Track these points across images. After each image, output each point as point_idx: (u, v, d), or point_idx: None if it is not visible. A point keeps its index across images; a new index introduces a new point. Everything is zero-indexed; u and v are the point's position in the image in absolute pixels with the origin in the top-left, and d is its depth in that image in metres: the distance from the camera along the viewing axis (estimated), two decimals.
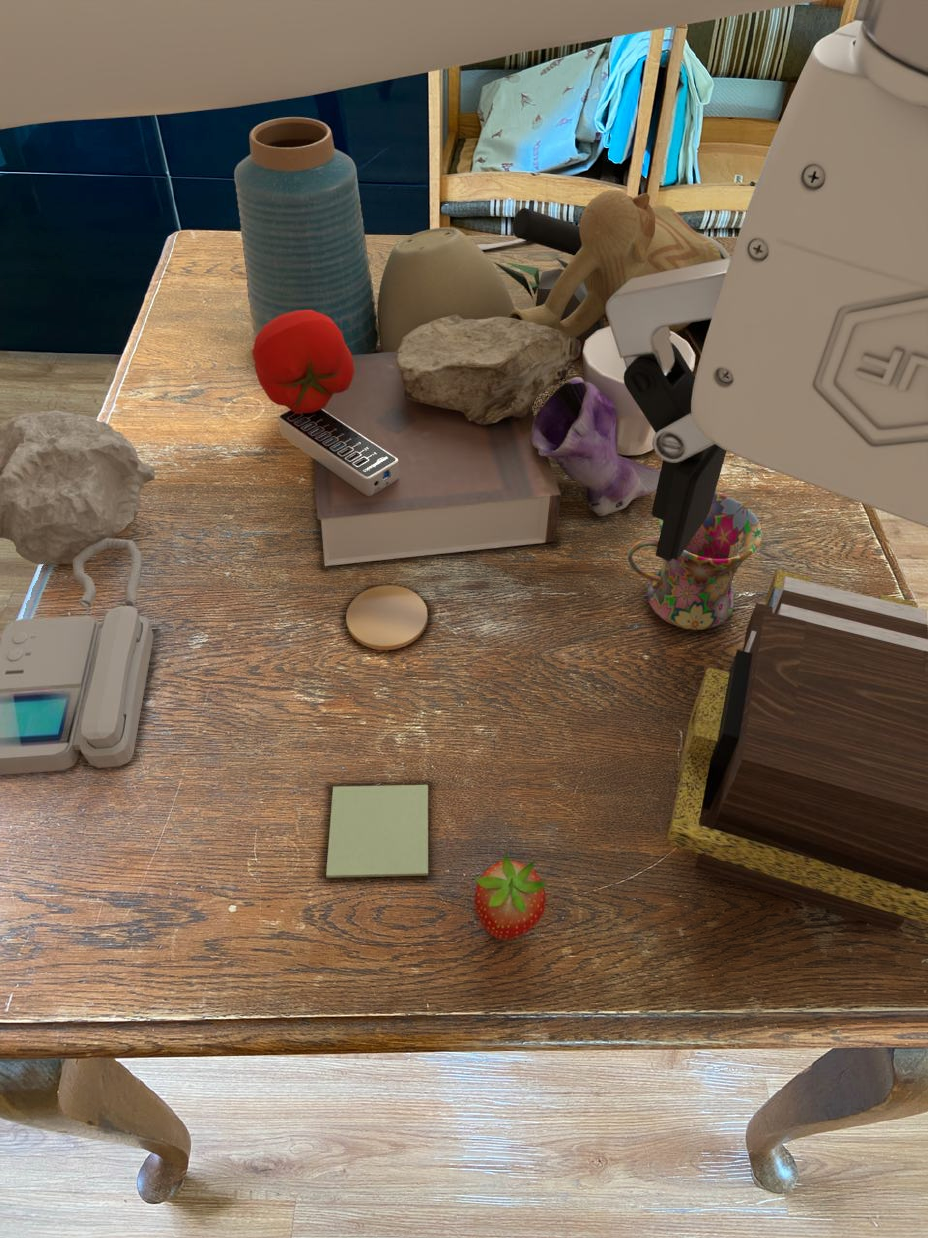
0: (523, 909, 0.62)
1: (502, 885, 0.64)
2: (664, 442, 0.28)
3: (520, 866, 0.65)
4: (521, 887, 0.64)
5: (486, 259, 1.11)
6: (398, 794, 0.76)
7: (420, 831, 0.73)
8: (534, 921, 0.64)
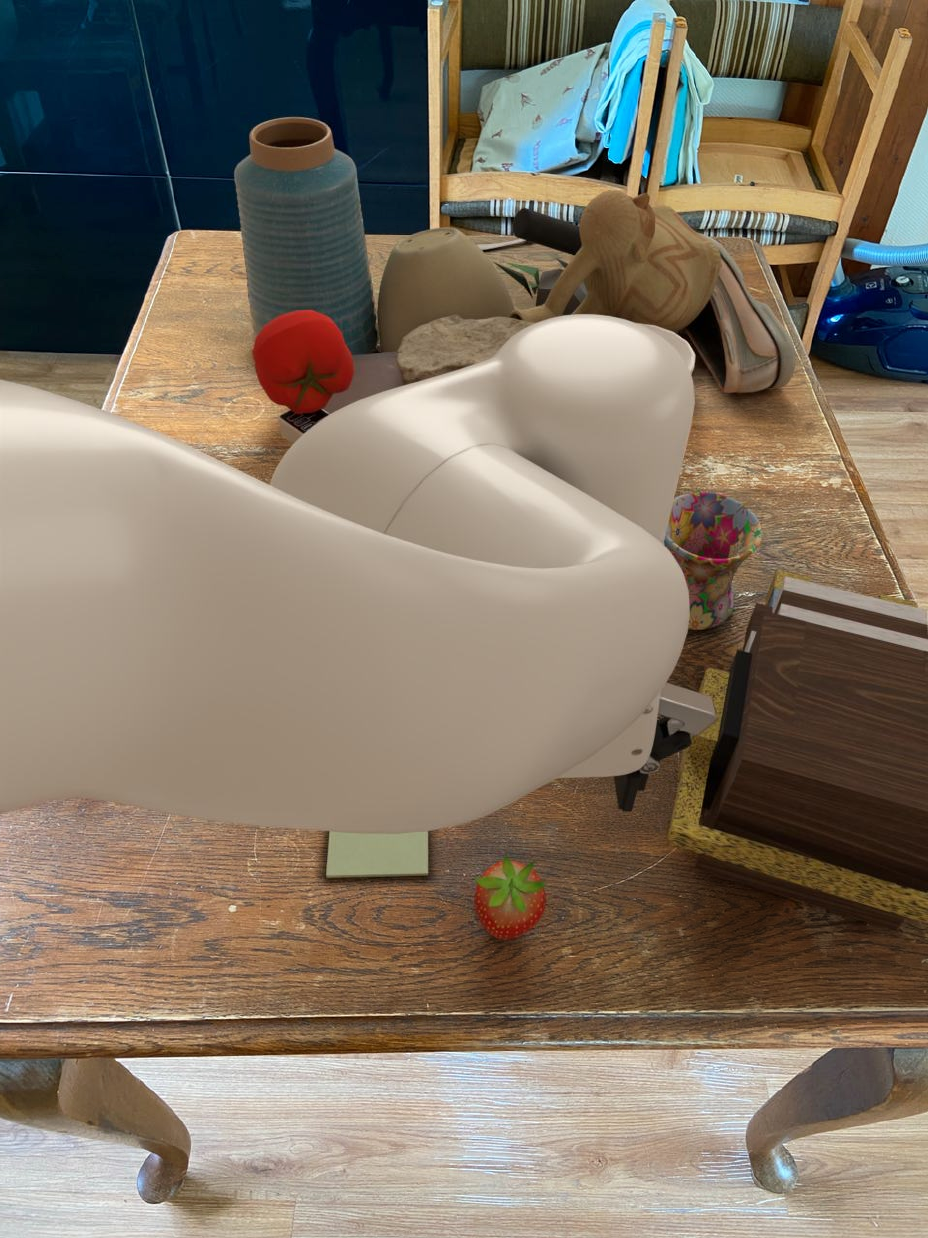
0: (523, 909, 0.62)
1: (502, 885, 0.64)
2: None
3: (520, 866, 0.65)
4: (521, 887, 0.64)
5: (485, 259, 1.11)
6: None
7: None
8: (534, 921, 0.64)
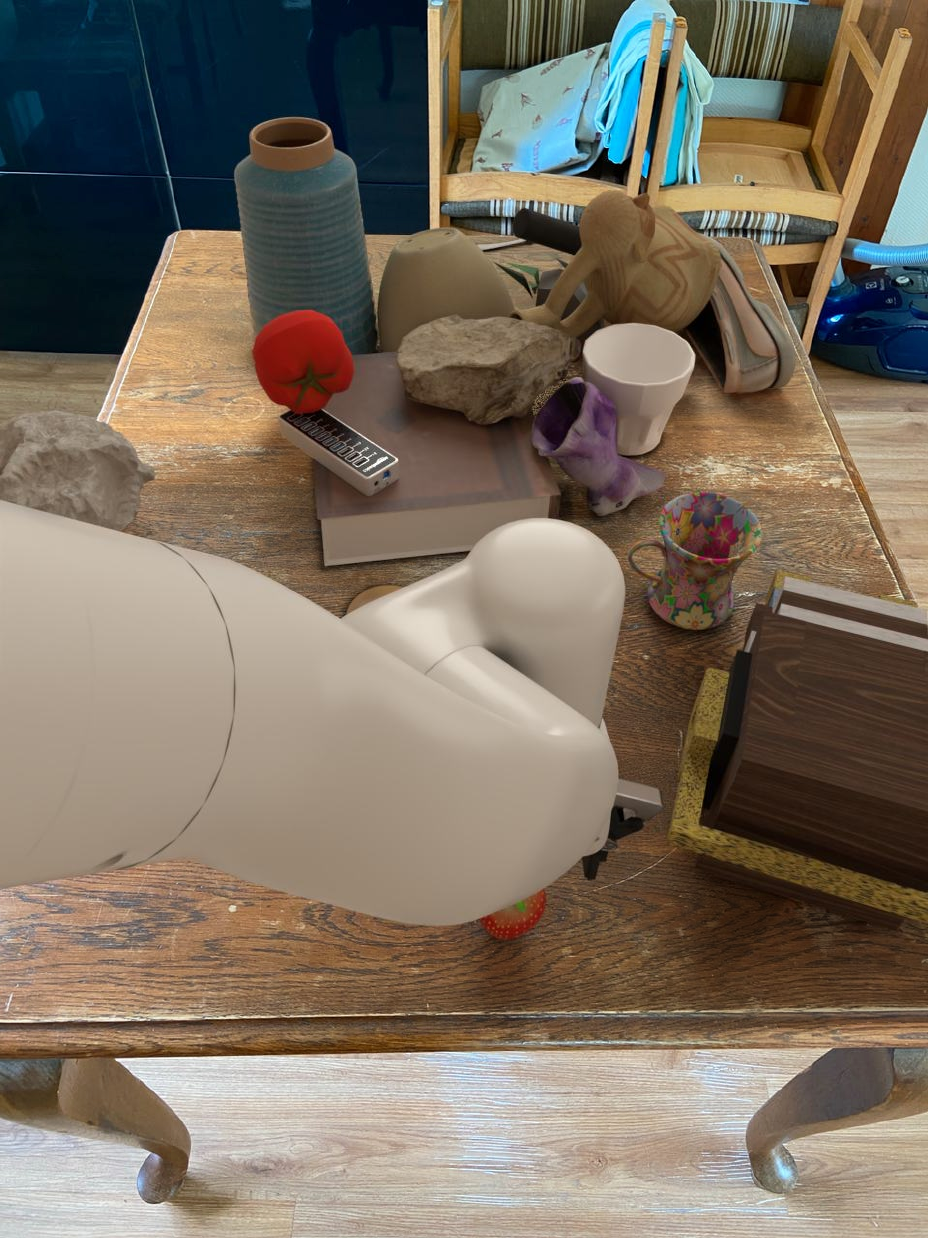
0: (523, 909, 0.62)
1: None
2: None
3: None
4: None
5: (485, 259, 1.11)
6: None
7: None
8: (534, 921, 0.64)
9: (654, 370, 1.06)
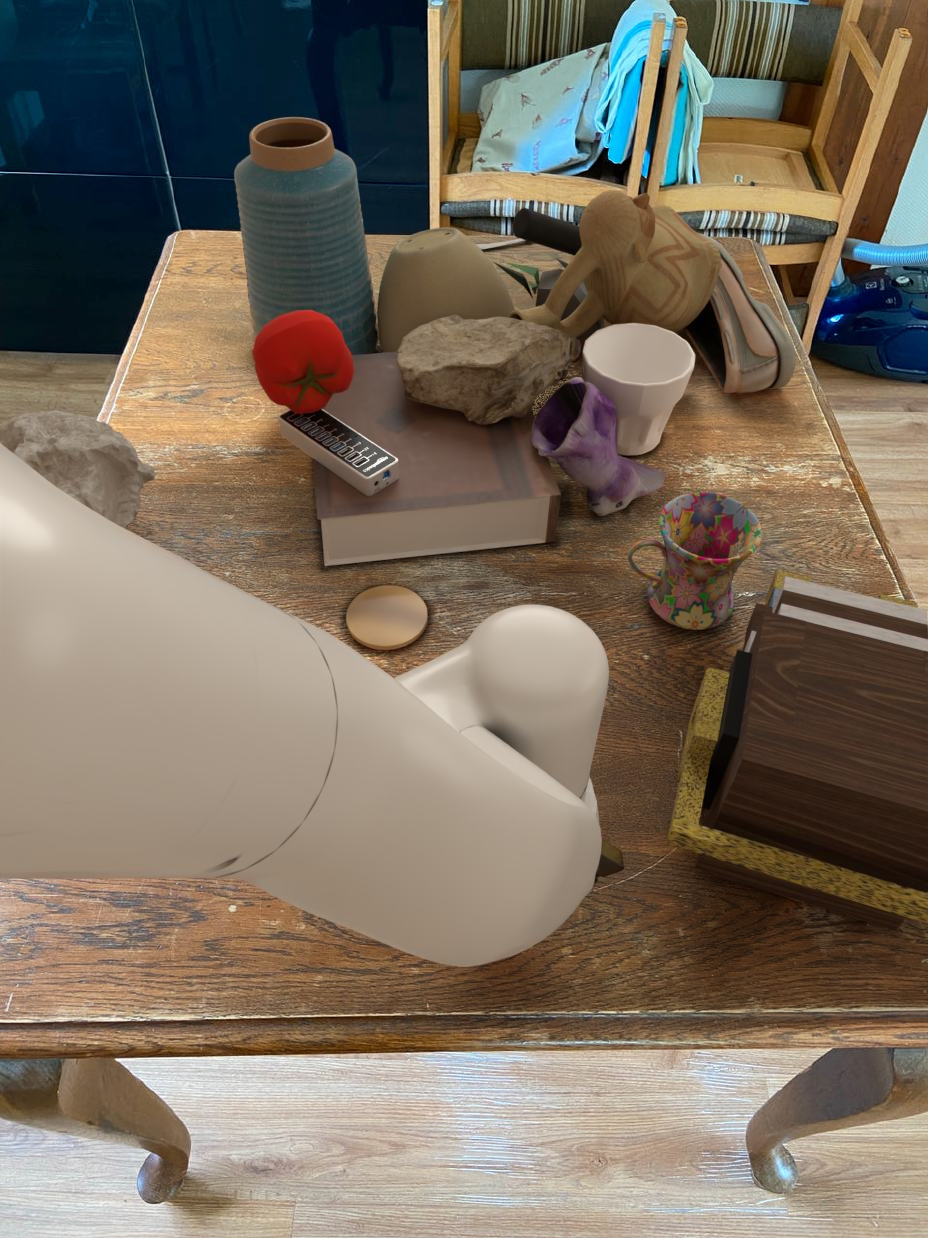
0: None
1: None
2: None
3: None
4: None
5: (485, 259, 1.11)
6: None
7: None
8: None
9: (654, 370, 1.06)
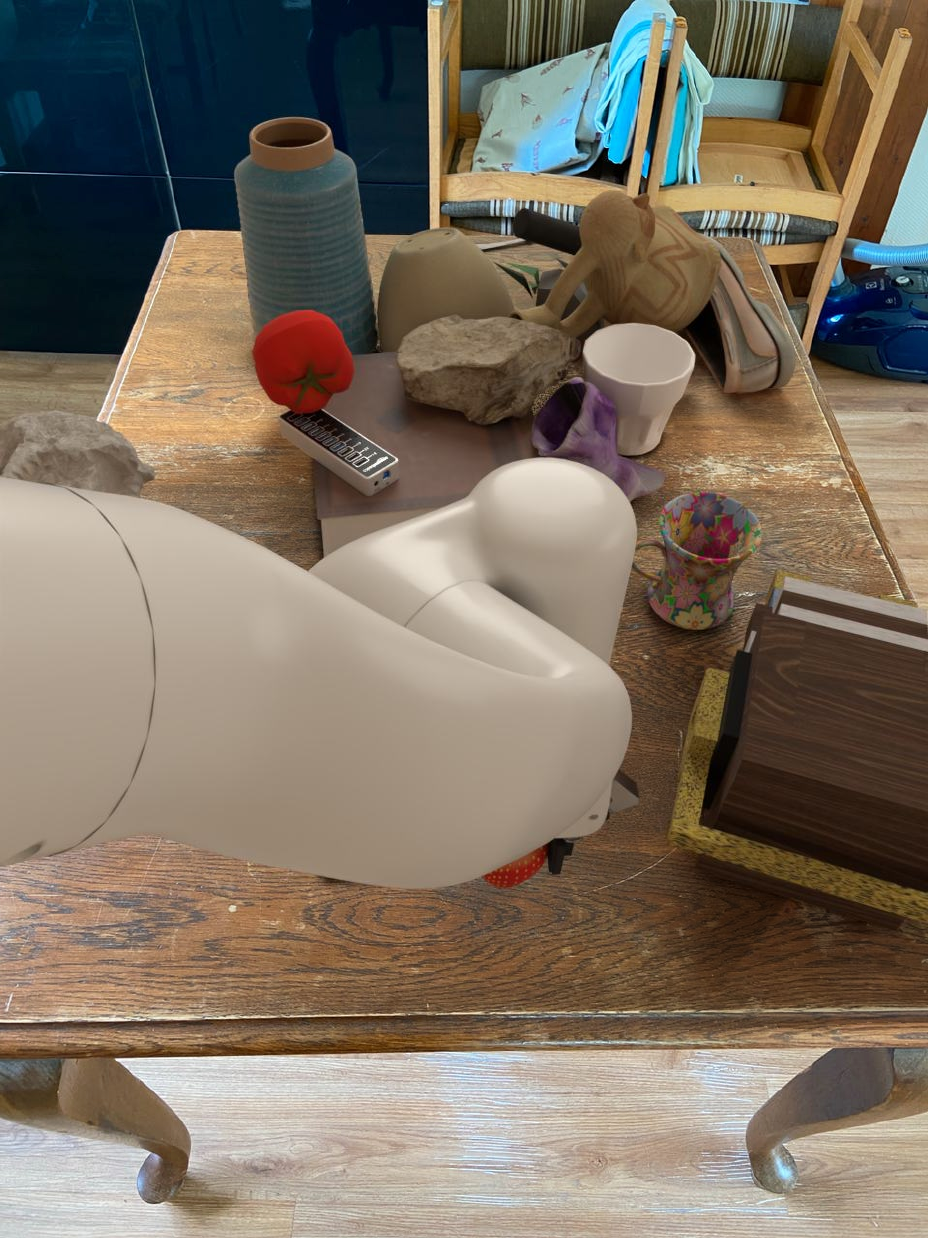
0: None
1: None
2: None
3: None
4: None
5: (485, 259, 1.11)
6: None
7: None
8: (536, 865, 0.57)
9: (654, 370, 1.06)
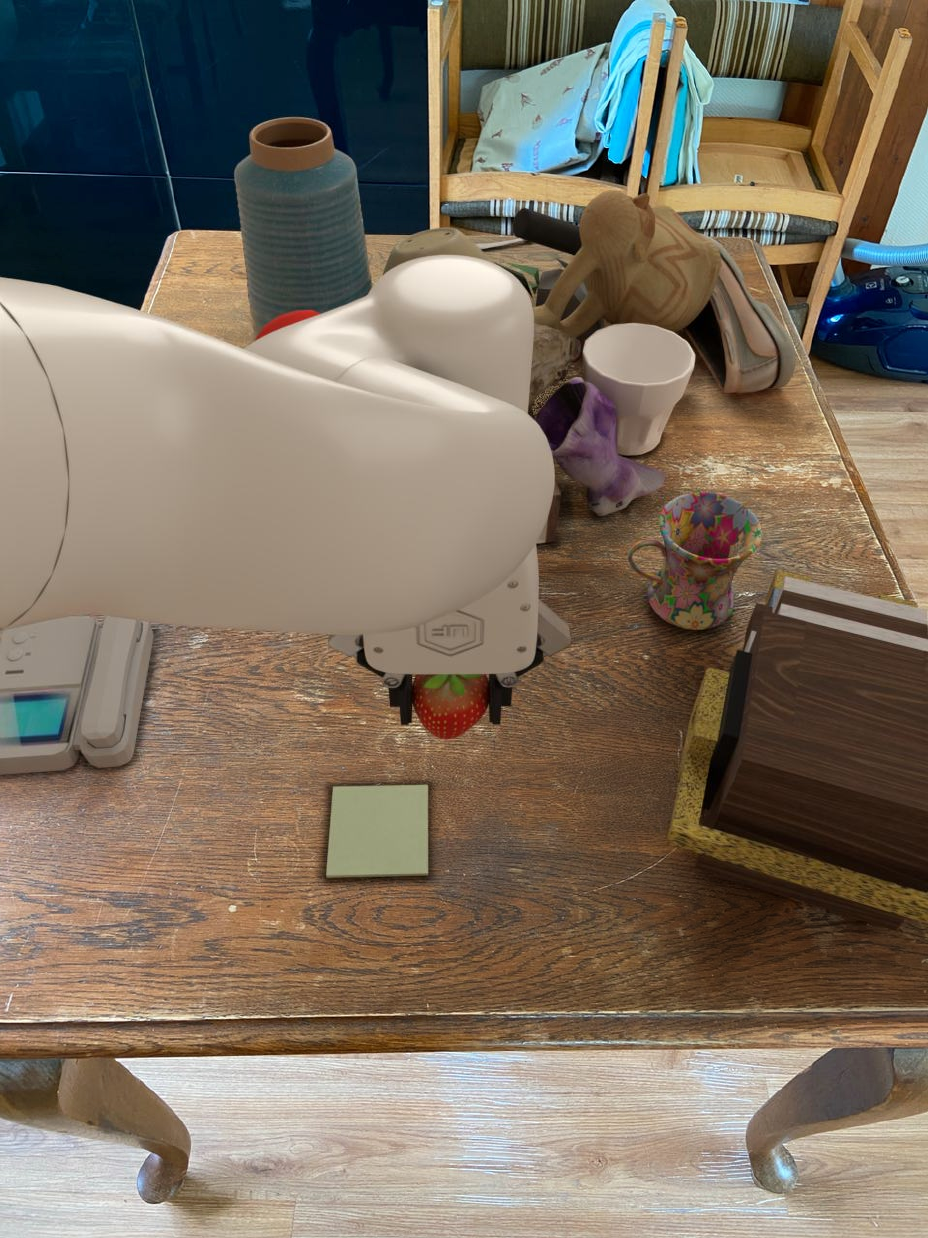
0: (461, 692, 0.57)
1: None
2: (387, 681, 0.57)
3: None
4: None
5: (485, 259, 1.11)
6: (398, 794, 0.76)
7: (420, 831, 0.73)
8: (475, 712, 0.58)
9: (654, 370, 1.06)
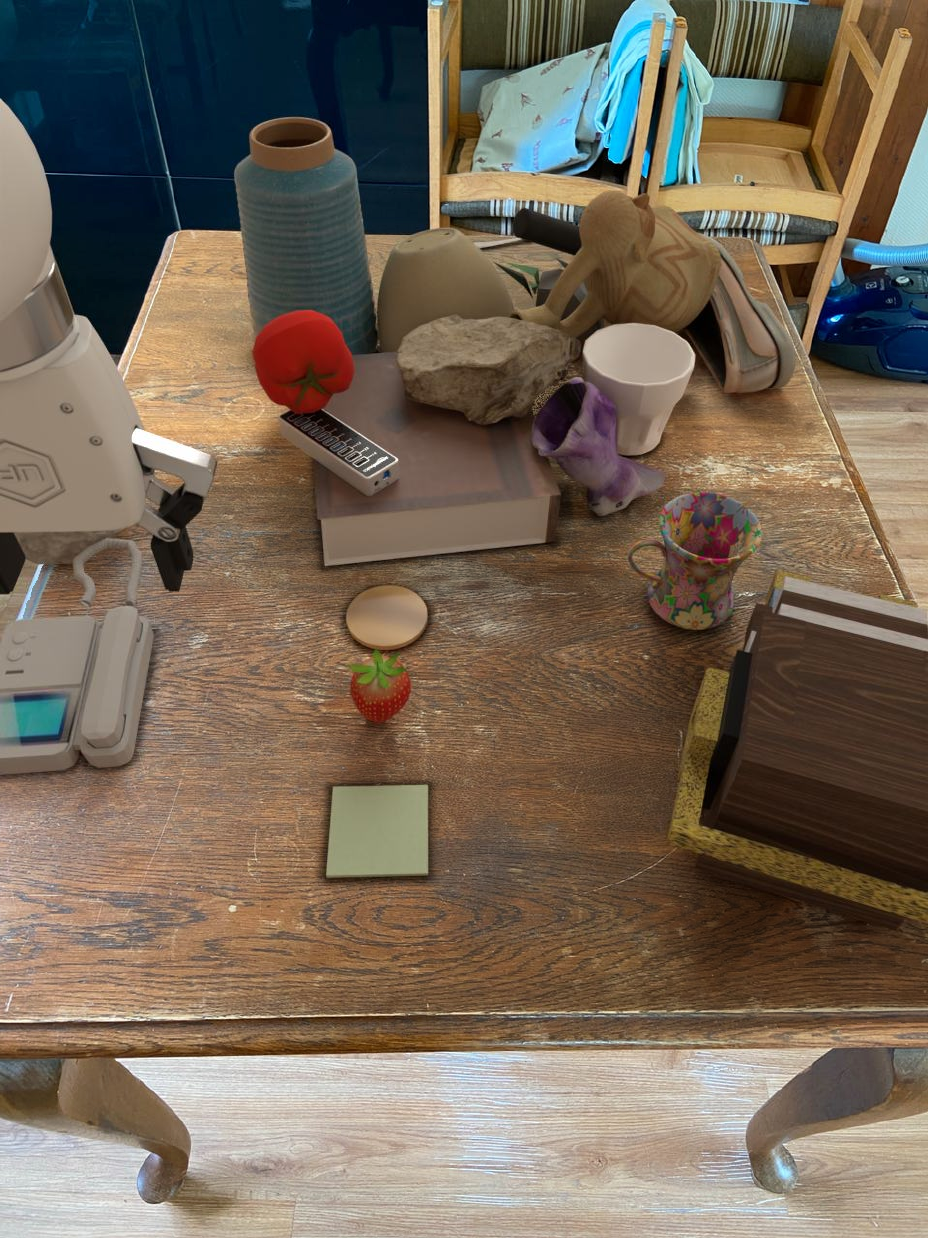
0: (386, 686, 0.75)
1: (370, 670, 0.76)
2: None
3: (388, 658, 0.78)
4: (386, 671, 0.76)
5: (485, 259, 1.11)
6: (398, 794, 0.76)
7: (420, 831, 0.73)
8: (398, 701, 0.77)
9: (654, 370, 1.06)
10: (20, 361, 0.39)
